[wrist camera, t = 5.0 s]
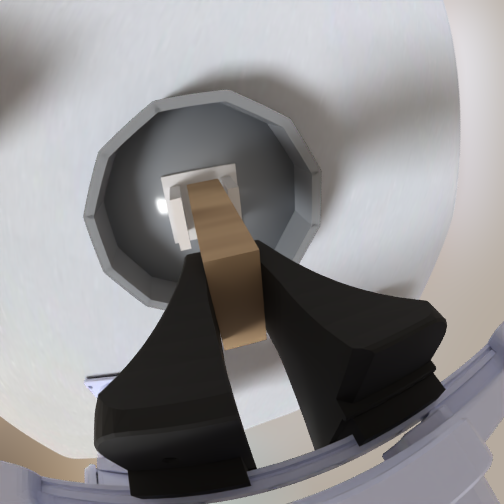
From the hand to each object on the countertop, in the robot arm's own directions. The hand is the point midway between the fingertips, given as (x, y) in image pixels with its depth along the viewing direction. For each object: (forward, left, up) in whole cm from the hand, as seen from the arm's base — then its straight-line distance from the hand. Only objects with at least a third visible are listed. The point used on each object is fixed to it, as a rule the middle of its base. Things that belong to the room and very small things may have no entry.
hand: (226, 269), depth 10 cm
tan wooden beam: (0, 0, -5) cm, 5 cm away
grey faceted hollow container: (0, 0, -8) cm, 8 cm away
